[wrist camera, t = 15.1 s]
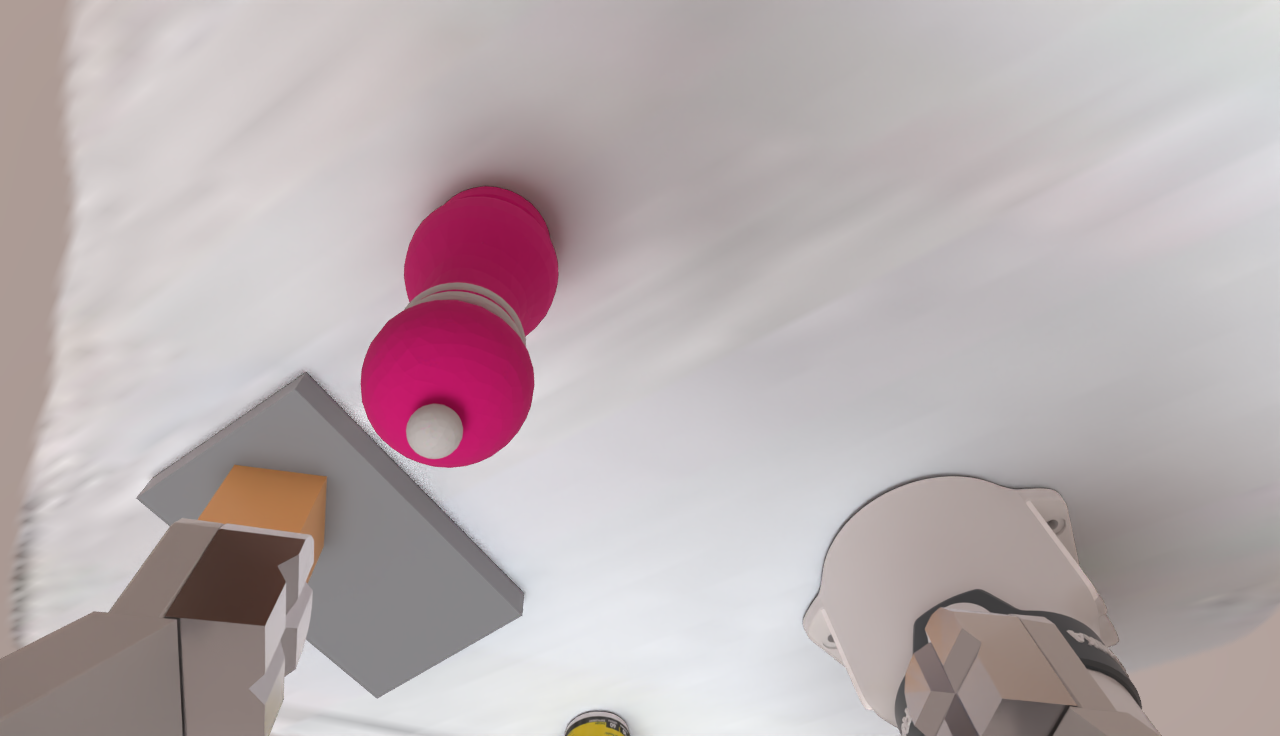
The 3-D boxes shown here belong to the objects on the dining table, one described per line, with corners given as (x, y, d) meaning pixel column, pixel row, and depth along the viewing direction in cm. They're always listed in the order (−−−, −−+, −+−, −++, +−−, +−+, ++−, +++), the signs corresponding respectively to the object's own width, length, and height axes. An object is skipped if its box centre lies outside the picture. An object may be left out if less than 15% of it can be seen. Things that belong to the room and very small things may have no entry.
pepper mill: (517, 330, 46) (477, 570, 28) (397, 264, 44) (272, 479, 26) (585, 223, 43) (590, 411, 26) (462, 148, 41) (373, 296, 23)
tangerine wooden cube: (326, 476, 47) (294, 543, 42) (323, 546, 49) (292, 618, 44) (234, 464, 46) (189, 531, 41) (235, 535, 48) (192, 608, 43)
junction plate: (524, 593, 54) (516, 676, 48) (383, 675, 57) (359, 764, 50) (305, 372, 46) (263, 437, 40) (152, 478, 49) (89, 555, 42)
